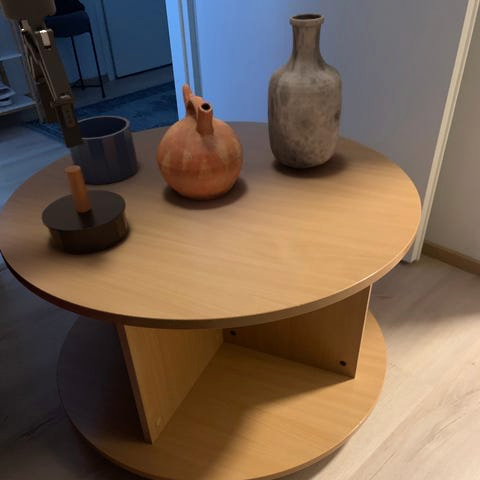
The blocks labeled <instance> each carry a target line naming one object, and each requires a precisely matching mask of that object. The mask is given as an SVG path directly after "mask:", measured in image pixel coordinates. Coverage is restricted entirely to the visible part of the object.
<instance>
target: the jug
mask: <svg viewBox="0 0 480 480" xmlns="http://www.w3.org/2000/svg"><path fill="white" fill-rule="evenodd" d="M181 91H182V100H183V103H184V108H185V115H184V117H183V118H181V119H180V120H178V121H176V122H174V123H173V124H172V125H171V126H170V127H169V128H168V129H167V130H166V132H165V133H164V135H163V137H162V138H161V140H160V143H159V145H158V147H157V153H156V162H157V163H156V164H157V167H158V170H159V171H160V174H161V176H162V179H163V180H164V181H165V182H166V183H167V184H168V186H169V187H171V188H172V190H174V191H175V192H177V193H178V194H179V195H180V196H182V197H184V198H186V199H189V200H192V201H209V200H215V199H217V198H220V197H222V196H224V195H226V194H227V193H228V192H230V190H231V189H232V188H233V186H234V184H235V183H236V181H237V179H239V176H240V174H241V171H242V168H243V163H244V150H243V146H242V144H241V141H240V138H239V137H238V135H237V134H236V132H235V131H234V130H233V128H232V127H231V126H229V124H227V123H226V122H225V121H223V120H222V119H219V118H216V117H214V110H213V106H212V104H211V103H210V102H208V101H205V100H204V98H203V97H201V96H197V95H195V93H193V91H192V89H191V87H190V86H189V85H188V83H184V84H182V89H181Z"/></svg>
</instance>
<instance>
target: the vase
mask: <svg viewBox="0 0 480 480" xmlns="http://www.w3.org/2000/svg"><path fill="white" fill-rule="evenodd" d="M324 23H325V16H324V15H323V14H321V13H311V12H309V13H298V14H294V15H291V16H290V17H289V25H290V26H291V27H292V28H291V30H292V49H291V54H290V56H289V58H288V60H287V61H286V62H285V64H283V65H281V66H280V67H278V68H276V69H275V70H274V71H273V72H272V73H271V75H270V77H269V81H268V87H267V131H268V141H269V147H270V151H271V153H272V155H273V158H275V159H276V161H278V162H279V163H281V164H282V165H284V166H287V167H290V168H293V169H310V168H315V167H318V166H320V165H323V164H324V163H326V162H328V161H329V160H331V158H332V157H333V156H334V154H335V151H336V149H337V145H338V141H339V136H340V129H341V120H342V119H341V118H342V110H343V109H342V108H343V107H342V106H343V79H342V76H341V74H340V72H339V70H338V69H337V68H335V66H333V65H331V64H328V63H327V62H326V61H325V59H324V58H323V56H322V54H321V49H320V48H321V47H320V40H321V30H322V24H324Z"/></svg>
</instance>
